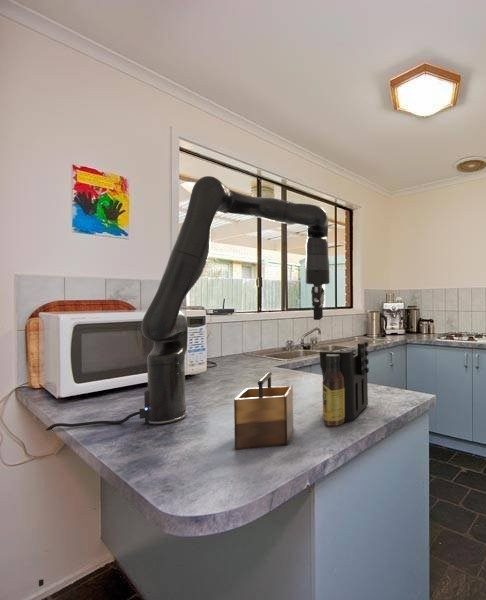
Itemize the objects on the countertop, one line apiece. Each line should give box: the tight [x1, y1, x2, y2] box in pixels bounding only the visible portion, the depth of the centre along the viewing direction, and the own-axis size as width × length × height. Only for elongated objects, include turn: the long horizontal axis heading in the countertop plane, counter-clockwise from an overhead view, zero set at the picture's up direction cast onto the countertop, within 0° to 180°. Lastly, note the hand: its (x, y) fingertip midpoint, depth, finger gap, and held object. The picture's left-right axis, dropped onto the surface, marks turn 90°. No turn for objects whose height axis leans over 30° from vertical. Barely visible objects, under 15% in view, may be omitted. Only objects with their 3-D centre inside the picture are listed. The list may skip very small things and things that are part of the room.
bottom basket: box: [233, 407, 294, 450], centre depth 84 cm, size 12×10×6 cm
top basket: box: [233, 371, 294, 425], centre depth 84 cm, size 12×10×10 cm
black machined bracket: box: [318, 341, 370, 423], centre depth 104 cm, size 12×21×22 cm, turn 168°
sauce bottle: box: [322, 354, 345, 427], centre depth 94 cm, size 7×6×20 cm
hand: (318, 319), depth 107 cm, fingers open, 8 cm apart
